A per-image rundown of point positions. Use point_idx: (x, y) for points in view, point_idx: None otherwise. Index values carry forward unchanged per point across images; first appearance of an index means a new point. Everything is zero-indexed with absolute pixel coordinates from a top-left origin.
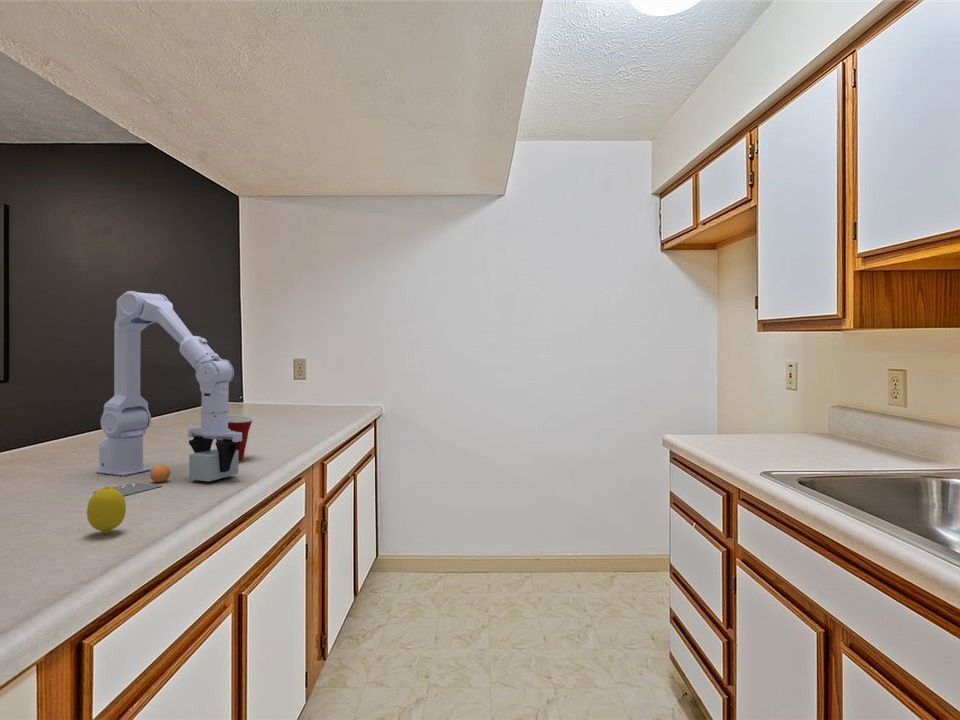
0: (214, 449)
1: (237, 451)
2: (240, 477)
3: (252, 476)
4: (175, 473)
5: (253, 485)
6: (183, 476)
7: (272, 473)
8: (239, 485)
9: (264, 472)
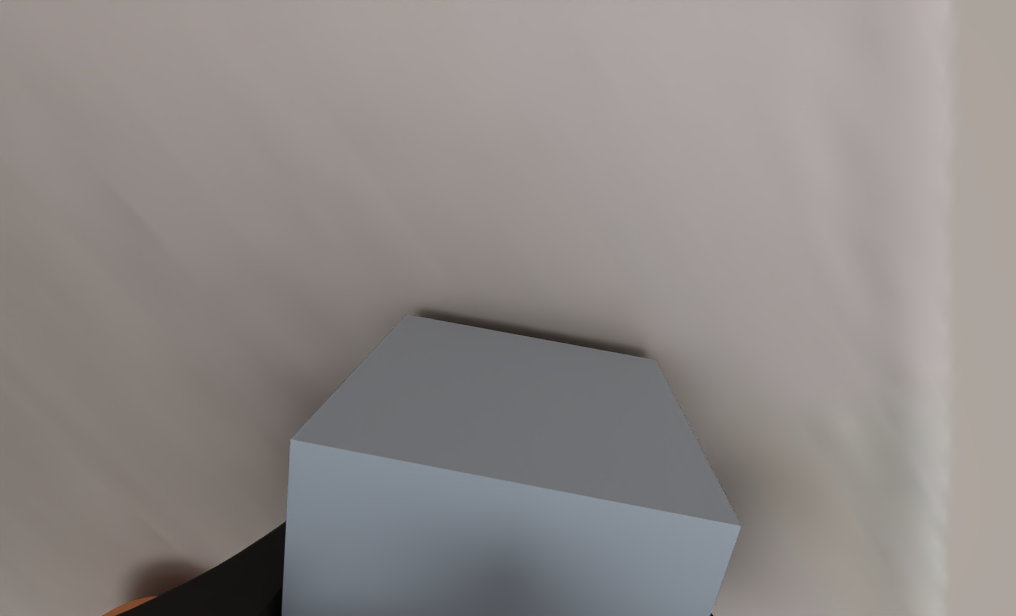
0: (301, 562)
1: (728, 536)
2: (676, 352)
3: (775, 284)
4: (30, 356)
5: (943, 579)
6: (181, 434)
7: (943, 82)
8: (821, 598)
9: (820, 60)
